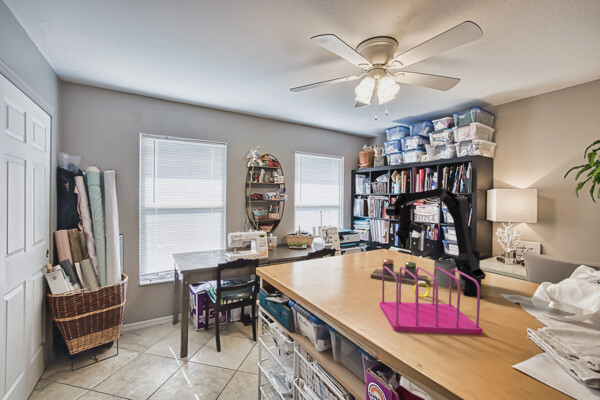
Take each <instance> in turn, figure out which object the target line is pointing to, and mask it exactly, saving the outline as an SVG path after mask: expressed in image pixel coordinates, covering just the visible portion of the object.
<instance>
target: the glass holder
mask: <svg viewBox="0 0 600 400" xmlns="http://www.w3.org/2000/svg"><path fill="white" fill-rule="evenodd" d="M472 253H473V254H474V256H475V257H476V259H477V261H478V264H479V267H480V268H481V261H480V256H481V255H480V253H481V252H480V250H475V249H472ZM458 280H459V283H460V286H464V284H465V280H463V279H461V276H460V273H458Z"/></svg>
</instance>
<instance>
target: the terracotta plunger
mask: <svg viewBox="0 0 600 400" xmlns="http://www.w3.org/2000/svg"><path fill="white" fill-rule="evenodd" d="M383 263H384V264H387V265H393V263H394V260H393V259H390V258H384V259H383V262H382V264H383Z"/></svg>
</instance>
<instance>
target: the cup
mask: <svg viewBox="0 0 600 400" xmlns="http://www.w3.org/2000/svg"><path fill="white" fill-rule="evenodd" d="M433 263H434V264H433V265H434V266H433V270H434V269H435V268H436V267H439V268H441V269H443V270H445V271H447V272H448V273H450V271H451V270H452V269H456V270H457V267H456V268H455V261H454V262H453V261H450V260H441V259H438V260H437V259H436V260H434V262H433ZM456 274H457V272H456V271H453V272H452V275H453V276H455V277H456ZM436 280H437V284H438V287H441V288H444V289H447V288H448V289H449V286H450V276H449V275H448V274H446V273H444V272H443V271H441V270H439V269H437V270H436ZM455 287H456V280H455V279H454V278H452V288H455ZM452 288H451V289H452Z"/></svg>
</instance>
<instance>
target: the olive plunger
mask: <svg viewBox="0 0 600 400" xmlns="http://www.w3.org/2000/svg"><path fill="white" fill-rule="evenodd" d="M404 265H405V266H406V267H409V268H415V267H416V268H417V263H416V262H413V261H406V262H405V263H404ZM405 266H404V267H405Z"/></svg>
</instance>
